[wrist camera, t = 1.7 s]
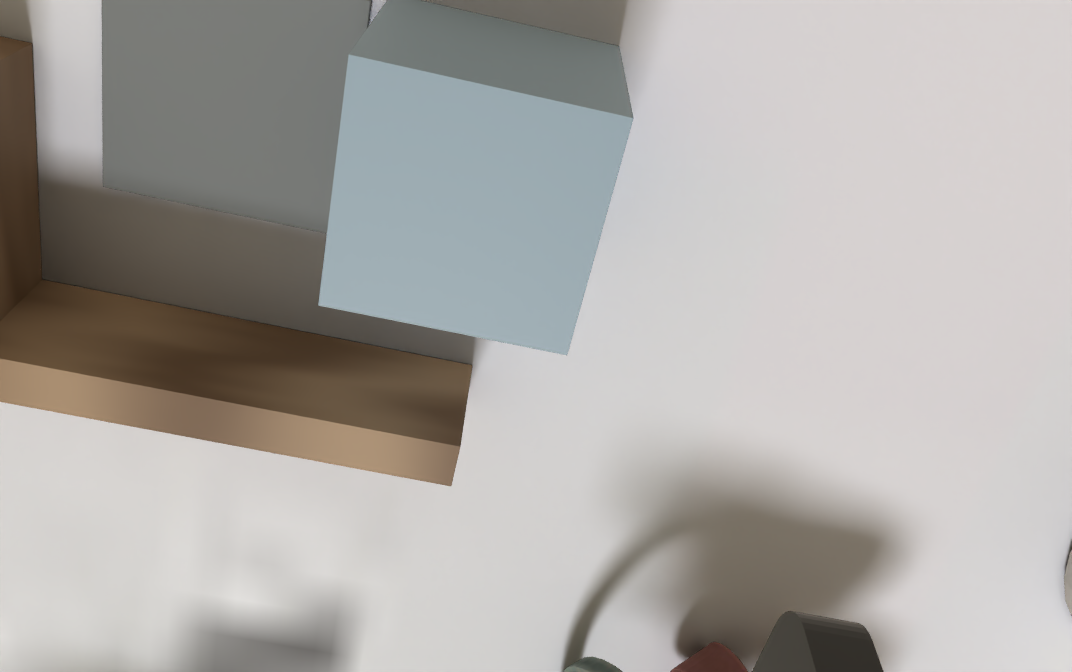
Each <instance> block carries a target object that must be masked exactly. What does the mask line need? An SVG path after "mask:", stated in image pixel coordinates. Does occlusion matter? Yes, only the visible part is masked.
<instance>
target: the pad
mask: <svg viewBox="0 0 1072 672" xmlns="http://www.w3.org/2000/svg"><path fill="white" fill-rule="evenodd" d="M371 2H372V0H102V120H103V187H106V188H111V189H116V190H121V191H125V192H130V193H135V194H140V195H145V196H149V197H154V198H159V199H164V200H169V201H173V202H178V203H183V204H188V205H192V206H197V207H202V208H207V209H212V210H216V211H221V212H226V213H231V214H235V215H240V216H245V217H250V218H255V219H259V220H264V221H269V222H274V223H278V224H283V225H288V226H293V227H298V228H302V229H307V230H312V231H317V232H321V233H326V234H327V229H328V221H329V212H330V204H331V196H332V188H333V179H334V171H335V163H336V155H337V146H338V138H339V130H340V122H341V113H342V105H343V97H344V89H345V80H346V72H347V64H348V56H349V53H350V52H351V50H352V49H353V48H354V46H355V45H356V43H357V42H358V41H359V39H360V38H361V36H362V35H363V34H364V32H365V31H366V29H367V28H368V25H369V17H370V10H371Z"/></svg>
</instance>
